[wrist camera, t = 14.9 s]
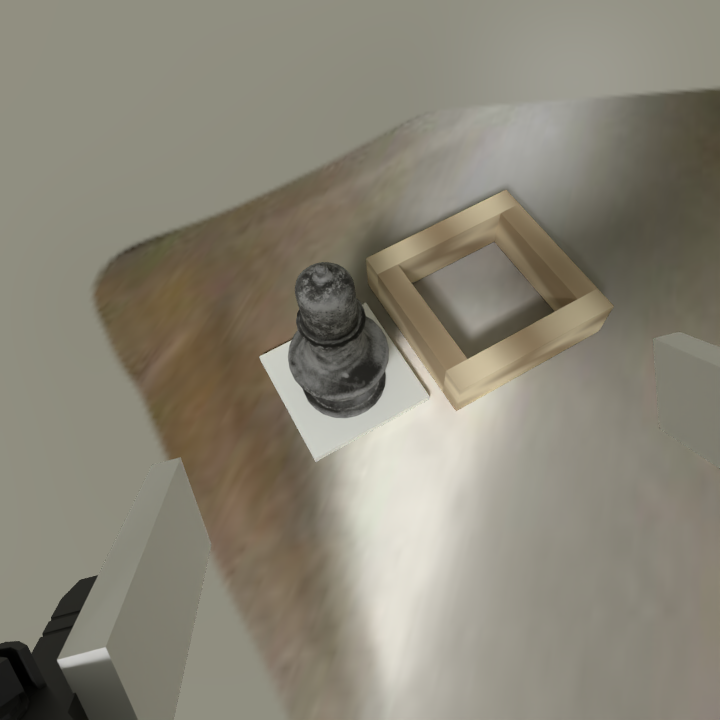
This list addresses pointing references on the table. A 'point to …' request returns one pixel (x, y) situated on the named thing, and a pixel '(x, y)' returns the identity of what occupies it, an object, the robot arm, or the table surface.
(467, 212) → the wooden square frame
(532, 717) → the table surface
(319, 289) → the dark chess piece
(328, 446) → the white mat
